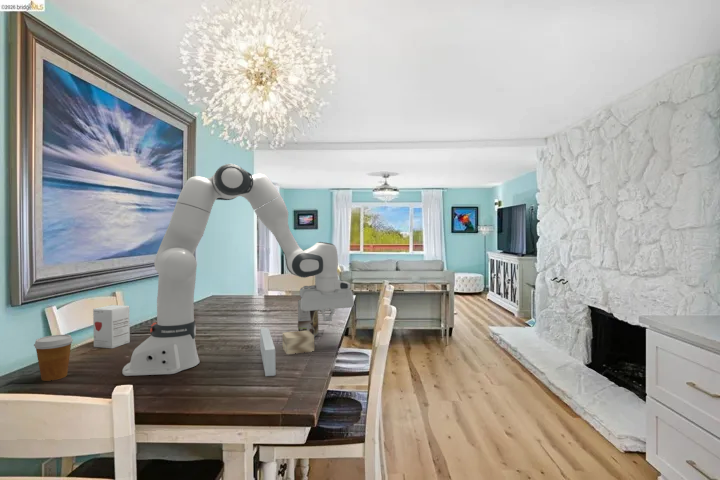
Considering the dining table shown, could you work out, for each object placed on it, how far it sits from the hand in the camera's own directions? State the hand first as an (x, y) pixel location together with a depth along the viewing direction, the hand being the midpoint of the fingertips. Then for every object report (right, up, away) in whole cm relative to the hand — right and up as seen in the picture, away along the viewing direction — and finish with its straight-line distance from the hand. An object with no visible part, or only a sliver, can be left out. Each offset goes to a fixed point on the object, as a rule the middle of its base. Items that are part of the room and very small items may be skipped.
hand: (327, 320), depth 155 cm
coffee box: (-9, -10, +16) cm, 21 cm away
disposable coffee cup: (-81, -11, -31) cm, 87 cm away
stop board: (-19, -10, -17) cm, 28 cm away
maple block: (-11, -10, -3) cm, 15 cm away
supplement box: (-85, -11, +5) cm, 86 cm away
